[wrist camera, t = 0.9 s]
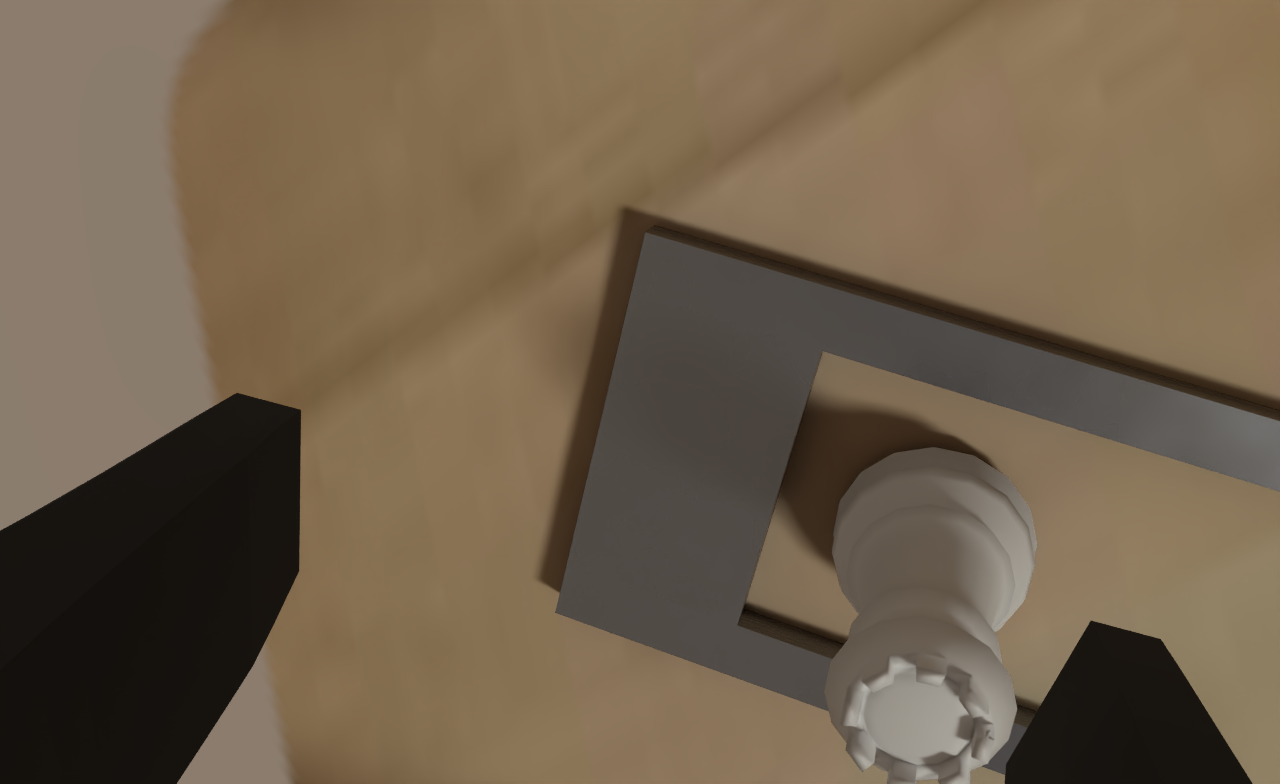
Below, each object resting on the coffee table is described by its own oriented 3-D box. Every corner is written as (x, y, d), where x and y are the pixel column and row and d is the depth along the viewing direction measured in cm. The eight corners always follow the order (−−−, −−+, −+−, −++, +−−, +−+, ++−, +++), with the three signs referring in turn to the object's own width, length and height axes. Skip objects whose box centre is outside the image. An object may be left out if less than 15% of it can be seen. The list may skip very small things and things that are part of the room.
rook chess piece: (805, 476, 27) (740, 654, 20) (992, 411, 26) (995, 579, 18) (880, 639, 28) (844, 866, 21) (1066, 586, 27) (1098, 813, 19)
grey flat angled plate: (1201, 824, 27) (1207, 848, 27) (565, 597, 30) (555, 612, 29) (1401, 447, 24) (1414, 461, 23) (654, 225, 26) (645, 231, 26)
